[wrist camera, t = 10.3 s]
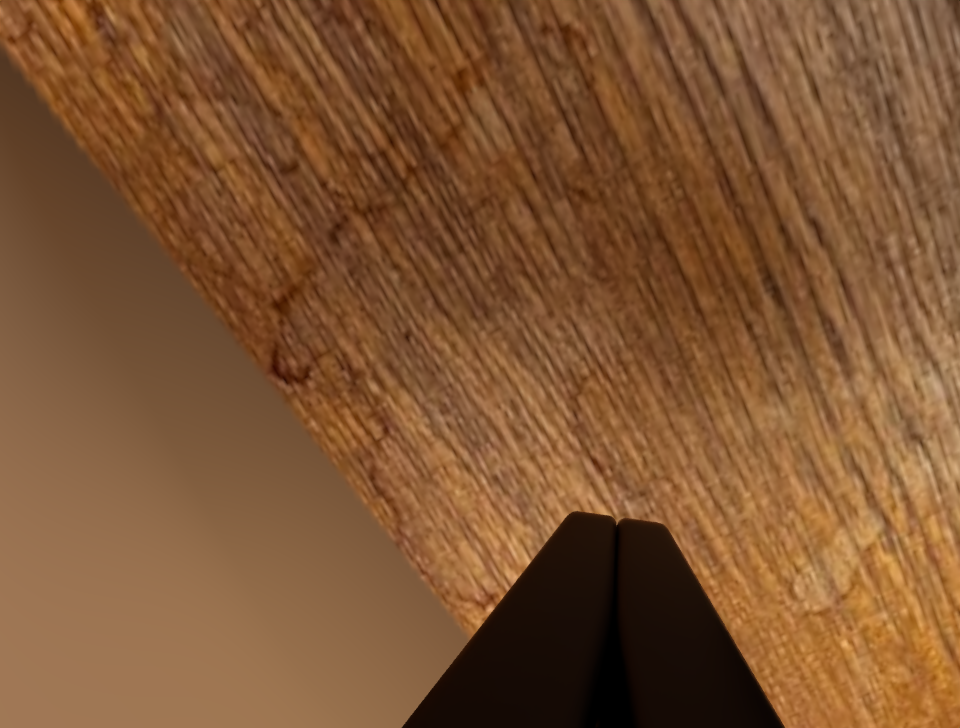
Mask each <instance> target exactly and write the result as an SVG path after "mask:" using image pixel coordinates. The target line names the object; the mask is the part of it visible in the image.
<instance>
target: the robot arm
mask: <svg viewBox="0 0 960 728" xmlns="http://www.w3.org/2000/svg"><path fill="white" fill-rule="evenodd" d="M402 728H785V727H784V725H783V724H782V722H781V720H780V718H779V717H778V715H777V713H776V712H775V710H774V708H773V707H772V705H771V703H770V701H769V700H768V698H767V696H766V695H765V693H764V691H763V690H762V688H761V686H760V684H759V683H758V681H757V679H756V678H755V676H754V674H753V673H752V671H751V669H750V667H749V666H748V664H747V662H746V661H745V659H744V657H743V656H742V654H741V652H740V650H739V649H738V647H737V645H736V644H735V642H734V640H733V639H732V637H731V635H730V634H729V632H728V630H727V628H726V627H725V625H724V623H723V622H722V620H721V618H720V617H719V615H718V613H717V611H716V610H715V608H714V606H713V605H712V603H711V601H710V600H709V598H708V596H707V594H706V593H705V591H704V589H703V588H702V586H701V584H700V583H699V581H698V579H697V577H696V576H695V574H694V572H693V571H692V569H691V567H690V566H689V564H688V562H687V561H686V559H685V557H684V555H683V554H682V552H681V550H680V549H679V547H678V545H677V544H676V542H675V540H674V538H673V537H672V535H671V533H670V532H669V530H668V529H667V527H666V526H664V525H663V524H661V523H658V522H650V521H643V520H636V519H629V518H623V519H621V520H620V521H619V522H618V524H617V525H616V521H615V519H614V518H613V517H611V516H608V515H600V514H593V513H586V512H579V511H575V512H572V513H570V514H569V515H568V516H567V517H566V518H565V519H564V520H563V522H562V523H561V524H560V526H559V527H558V528H557V529H556V531H555V532H554V533H553V535H552V536H551V537H550V538H549V540H548V541H547V542H546V544H545V545H544V546H543V547H542V549H541V550H540V551H539V553H538V554H537V555H536V556H535V558H534V559H533V560H532V561H531V563H530V564H529V565H528V567H527V568H526V569H525V570H524V572H523V573H522V574H521V576H520V577H519V578H518V579H517V581H516V582H515V583H514V585H513V586H512V587H511V588H510V590H509V591H508V592H507V594H506V595H505V596H504V597H503V599H502V600H501V601H500V602H499V604H498V605H497V606H496V608H495V609H494V610H493V611H492V613H491V614H490V615H489V617H488V618H487V619H486V620H485V622H484V623H483V624H482V626H481V627H480V628H479V629H478V631H477V632H476V633H475V634H474V636H473V637H472V638H471V640H470V641H469V642H468V643H467V645H466V646H465V647H464V649H463V650H462V651H461V652H460V654H459V655H458V656H457V658H456V659H455V660H454V661H453V663H452V664H451V665H450V667H449V668H448V669H447V670H446V672H445V673H444V674H443V675H442V677H441V678H440V679H439V681H438V682H437V683H436V684H435V686H434V687H433V688H432V690H431V691H430V692H429V693H428V695H427V696H426V697H425V699H424V700H423V701H422V702H421V704H420V705H419V706H418V708H417V709H416V710H415V711H414V713H413V714H412V715H411V716H410V718H409V719H408V720H407V722H406V723H405V724H404V725H403V727H402Z"/></svg>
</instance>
